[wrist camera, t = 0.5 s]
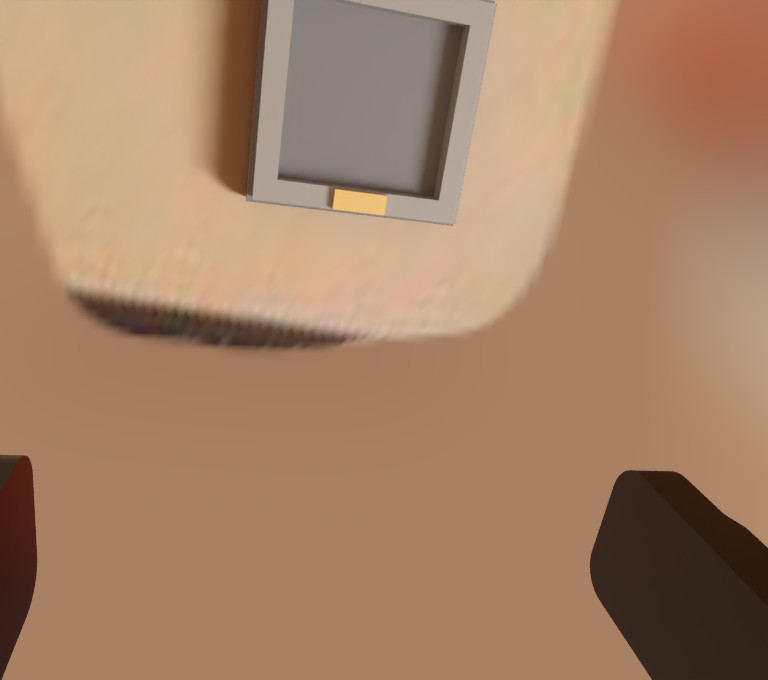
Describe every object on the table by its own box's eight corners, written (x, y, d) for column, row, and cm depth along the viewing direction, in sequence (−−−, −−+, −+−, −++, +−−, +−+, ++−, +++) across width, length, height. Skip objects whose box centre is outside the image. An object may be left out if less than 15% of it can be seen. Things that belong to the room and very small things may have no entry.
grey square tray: (264, -42, 27) (266, -54, 25) (485, 4, 30) (506, -2, 27) (246, 196, 31) (246, 205, 28) (445, 221, 33) (460, 231, 31)
